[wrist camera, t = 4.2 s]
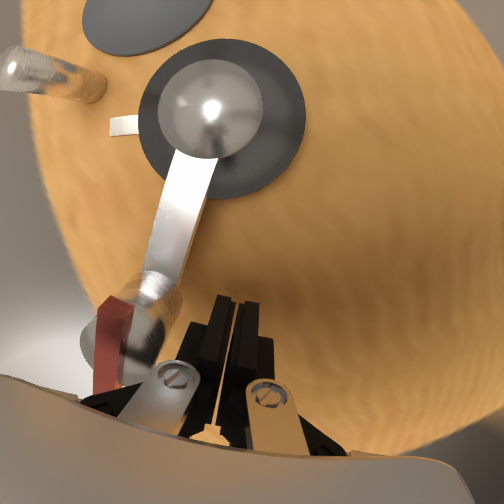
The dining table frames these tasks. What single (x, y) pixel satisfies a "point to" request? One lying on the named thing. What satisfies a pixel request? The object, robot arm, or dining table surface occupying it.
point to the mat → (139, 23)
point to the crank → (173, 217)
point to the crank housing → (146, 122)
